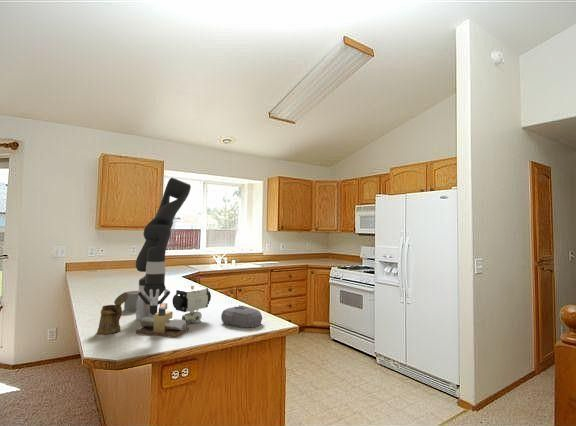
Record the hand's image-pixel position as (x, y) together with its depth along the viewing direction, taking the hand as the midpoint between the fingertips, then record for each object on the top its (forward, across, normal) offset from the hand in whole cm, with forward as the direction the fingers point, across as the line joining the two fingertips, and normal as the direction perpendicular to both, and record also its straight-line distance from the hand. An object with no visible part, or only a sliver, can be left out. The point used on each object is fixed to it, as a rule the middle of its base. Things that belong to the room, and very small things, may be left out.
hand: (153, 314), depth 137 cm
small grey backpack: (+10, +40, +12) cm, 43 cm away
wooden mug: (+11, -17, +16) cm, 26 cm away
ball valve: (+10, +17, +22) cm, 30 cm away
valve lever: (0, +3, +4) cm, 5 cm away
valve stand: (+10, +4, +9) cm, 14 cm away
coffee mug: (+11, -12, +61) cm, 63 cm away
